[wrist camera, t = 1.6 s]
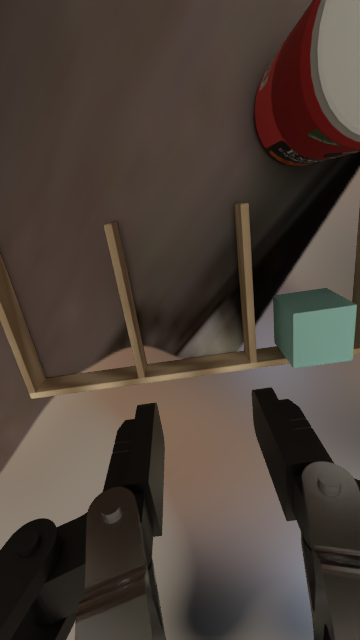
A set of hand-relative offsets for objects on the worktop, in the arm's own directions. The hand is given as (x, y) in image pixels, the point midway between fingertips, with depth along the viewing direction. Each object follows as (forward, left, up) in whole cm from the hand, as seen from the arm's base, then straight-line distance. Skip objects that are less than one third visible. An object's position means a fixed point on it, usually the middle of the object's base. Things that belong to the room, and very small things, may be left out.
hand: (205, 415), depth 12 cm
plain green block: (+11, -4, -17) cm, 21 cm away
